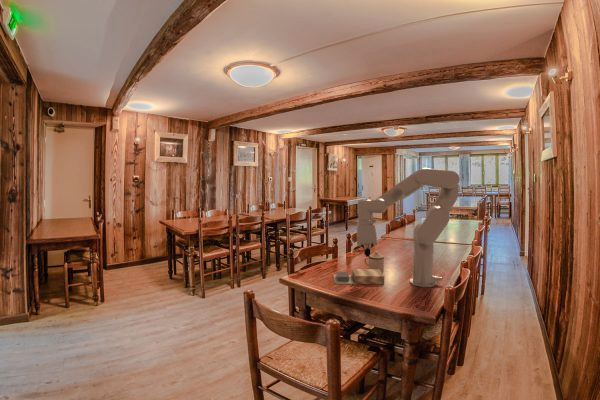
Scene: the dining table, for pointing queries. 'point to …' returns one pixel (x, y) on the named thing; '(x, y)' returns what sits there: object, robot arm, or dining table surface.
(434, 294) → the dining table surface
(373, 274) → the board
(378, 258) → the teacup with lid
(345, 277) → the coaster
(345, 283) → the placemat
